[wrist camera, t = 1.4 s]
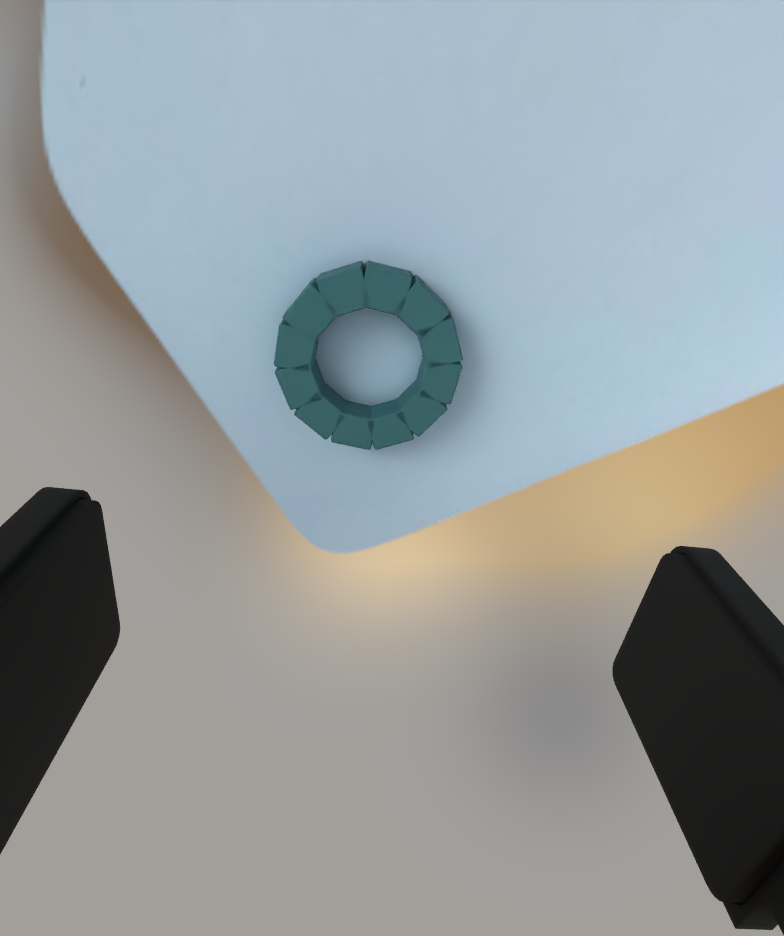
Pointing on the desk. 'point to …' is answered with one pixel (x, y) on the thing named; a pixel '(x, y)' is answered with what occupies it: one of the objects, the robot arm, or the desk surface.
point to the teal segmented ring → (381, 293)
